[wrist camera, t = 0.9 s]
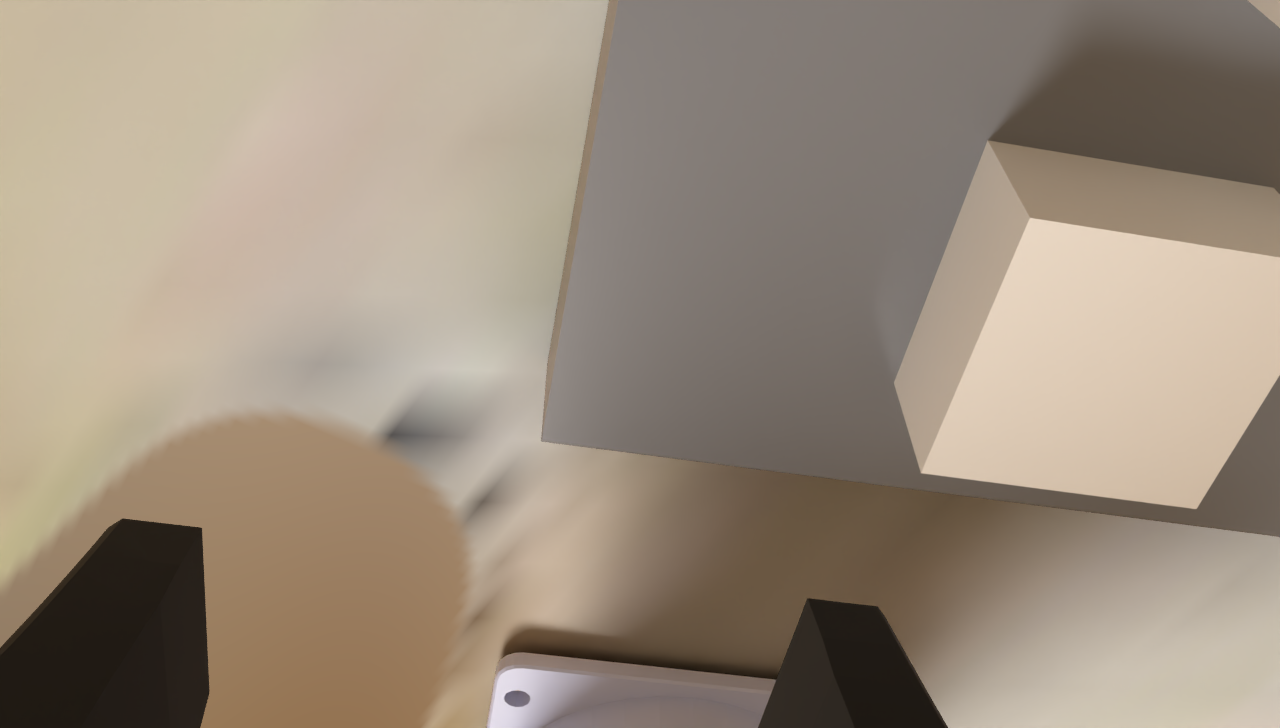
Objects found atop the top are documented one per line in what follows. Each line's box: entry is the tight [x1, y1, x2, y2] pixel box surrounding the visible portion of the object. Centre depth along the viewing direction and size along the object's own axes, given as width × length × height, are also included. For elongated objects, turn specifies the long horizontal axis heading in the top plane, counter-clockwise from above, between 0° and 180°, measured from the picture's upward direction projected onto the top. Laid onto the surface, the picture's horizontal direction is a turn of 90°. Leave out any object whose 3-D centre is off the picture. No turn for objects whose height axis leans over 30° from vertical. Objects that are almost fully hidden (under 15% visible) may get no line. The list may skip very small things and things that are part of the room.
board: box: [541, 0, 1280, 537], centre depth 16 cm, size 14×16×2 cm
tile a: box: [894, 140, 1280, 509], centre depth 16 cm, size 4×4×2 cm
